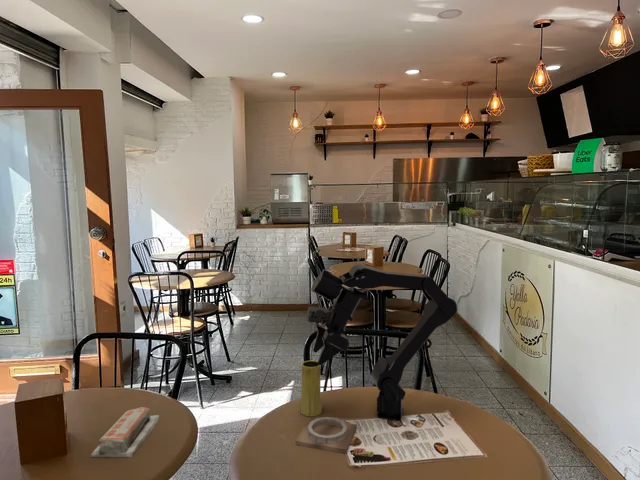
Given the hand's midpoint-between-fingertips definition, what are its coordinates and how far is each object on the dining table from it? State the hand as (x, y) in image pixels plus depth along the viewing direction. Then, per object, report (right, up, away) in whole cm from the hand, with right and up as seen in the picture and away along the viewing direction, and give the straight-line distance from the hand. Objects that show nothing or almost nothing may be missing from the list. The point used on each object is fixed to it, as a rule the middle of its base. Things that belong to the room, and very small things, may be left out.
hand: (316, 357), depth 119 cm
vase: (-2, -17, +7) cm, 19 cm away
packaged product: (-49, -20, -6) cm, 53 cm away
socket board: (+3, -19, -6) cm, 20 cm away
